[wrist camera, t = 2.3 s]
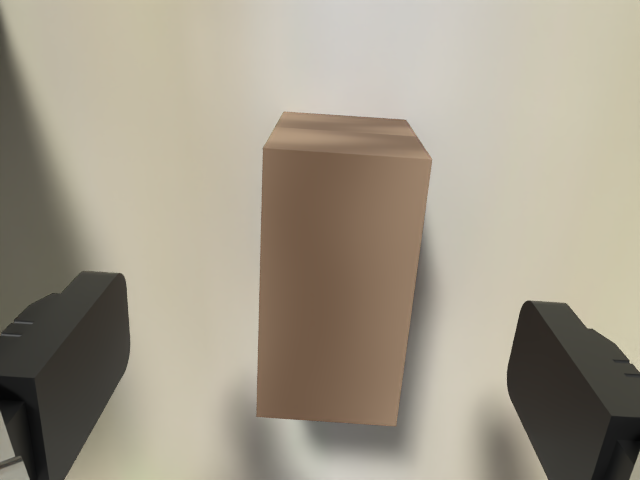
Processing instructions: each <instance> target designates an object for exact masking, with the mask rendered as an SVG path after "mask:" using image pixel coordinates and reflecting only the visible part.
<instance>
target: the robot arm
mask: <svg viewBox="0 0 640 480" xmlns="http://www.w3.org/2000/svg"><path fill="white" fill-rule="evenodd" d="M129 353H130V332H129V317H128V302H127V288H126V281H125V278H124V276H123V274H121V273H108V272H93V271H82V272H81V273H80V274H79V275H78V276H77V277H76V278H75V279H74V280H73V281H72V282H71V283H70V284H69V285H68V286H67V287H66V288H65V290H64V291H63V292H62V293H61V294H57V293H52V294H50V295H48V296H46V297H44V298H42V299H41V300H39V301H37V302H35V303H33V304H31V305H29V306H28V307H27V308H26V309H25V310H24V311H23V312H22V313H21V314H20V315H19V316H18V317H17V318H16V319H15V320H14V323H11V324H10V325H9V326H8V327H7V328H6V329H5V330H4V331H3V332H2V334H1V336H0V480H64V479H65V477H66V476H67V474H68V472H69V470H70V469H71V467H72V465H73V463H74V461H75V460H76V458H77V456H78V454H79V453H80V451H81V449H82V447H83V445H84V444H85V442H86V440H87V438H88V437H89V435H90V433H91V431H92V429H93V428H94V426H95V424H96V422H97V421H98V419H99V417H100V415H101V413H102V412H103V410H104V408H105V406H106V404H107V403H108V401H109V399H110V397H111V396H112V394H113V392H114V390H115V388H116V387H117V385H118V383H119V381H120V380H121V378H122V376H123V374H124V372H125V370H126V367H127V364H128V359H129ZM507 387H508V392H509V396H510V399H511V401H512V403H513V405H514V407H515V410H516V412H517V414H518V416H519V418H520V420H521V422H522V424H523V427H524V429H525V431H526V433H527V435H528V437H529V439H530V441H531V444H532V446H533V448H534V450H535V452H536V454H537V456H538V458H539V461H540V463H541V465H542V467H543V469H544V471H545V473H546V475H547V478H548V480H640V372H639V371H638V370H637V369H636V368H635V366H634V365H633V364H630V363H629V359H628V358H627V357H626V356H625V355H624V354H623V352H622V351H621V350H620V349H619V348H618V347H617V345H616V344H615V343H613V342H612V341H610V340H609V339H607V338H605V337H604V336H602V335H601V334H599V333H598V332H596V331H595V330H593V329H587V328H586V326H585V325H584V324H583V323H582V321H581V320H580V319H579V318H578V317H577V315H576V314H575V313H574V312H573V310H572V309H571V308H570V307H569V306H568V305H567V304H566V303H558V302H542V301H526V302H525V303H524V304H523V306H522V308H521V311H520V314H519V319H518V323H517V328H516V332H515V337H514V341H513V346H512V350H511V355H510V359H509V363H508V369H507Z"/></svg>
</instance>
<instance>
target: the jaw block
mask: <svg viewBox="0 0 640 480" xmlns="http://www.w3.org/2000/svg"><path fill="white" fill-rule="evenodd" d="M431 165H432V158H431V157H430V155H429V154H428V152H427V151H426V149H425V148H424V146H423V145H422V143H421V142H420V140H419V139H418V137H417V136H416V134H415V133H414V131H413V130H412V128H411V127H410V125H409V124H408V122H407V121H406V120H401V119H385V118H370V117H355V116H340V115H325V114H310V113H295V112H283V114H282V116H281V117H280V119H279V121H278V123H277V125H276V126H275V128H274V130H273V132H272V133H271V135H270V137H269V139H268V140H267V142H266V144H265V146H264V147H263V171H262V211H261V252H260V292H259V333H258V373H257V414H256V417H266V418H281V419H295V420H310V421H325V422H339V423H354V424H368V425H383V426H396V423H397V416H398V409H399V401H400V394H401V386H402V379H403V372H404V364H405V357H406V349H407V342H408V335H409V327H410V320H411V312H412V305H413V298H414V290H415V283H416V275H417V268H418V261H419V253H420V246H421V238H422V231H423V224H424V216H425V209H426V201H427V194H428V187H429V179H430V172H431Z"/></svg>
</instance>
